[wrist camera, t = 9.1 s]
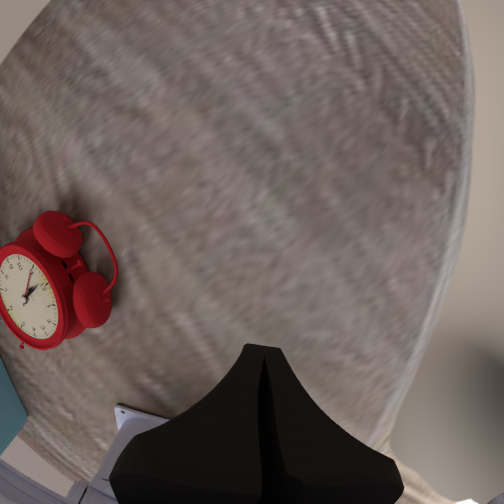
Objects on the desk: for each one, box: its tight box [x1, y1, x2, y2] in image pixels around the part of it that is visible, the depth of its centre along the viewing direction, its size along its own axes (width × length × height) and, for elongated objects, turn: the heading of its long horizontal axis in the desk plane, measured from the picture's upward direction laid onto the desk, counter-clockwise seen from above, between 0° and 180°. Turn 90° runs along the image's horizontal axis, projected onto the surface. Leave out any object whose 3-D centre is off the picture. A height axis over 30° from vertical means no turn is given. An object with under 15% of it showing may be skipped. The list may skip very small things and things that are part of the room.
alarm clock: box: [0, 211, 118, 350], centre depth 20 cm, size 10×6×15 cm
